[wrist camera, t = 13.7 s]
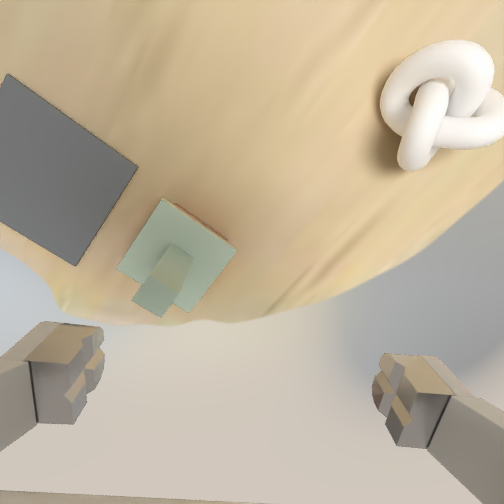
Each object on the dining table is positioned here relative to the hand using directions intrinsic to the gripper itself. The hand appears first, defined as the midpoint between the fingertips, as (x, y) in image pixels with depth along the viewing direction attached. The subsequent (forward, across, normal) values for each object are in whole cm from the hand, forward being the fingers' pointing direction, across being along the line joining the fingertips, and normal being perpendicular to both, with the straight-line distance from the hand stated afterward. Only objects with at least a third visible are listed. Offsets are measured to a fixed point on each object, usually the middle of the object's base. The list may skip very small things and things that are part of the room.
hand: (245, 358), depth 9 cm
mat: (+31, +24, +1) cm, 39 cm away
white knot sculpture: (+31, -19, -12) cm, 39 cm away
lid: (+27, +7, +8) cm, 28 cm away
